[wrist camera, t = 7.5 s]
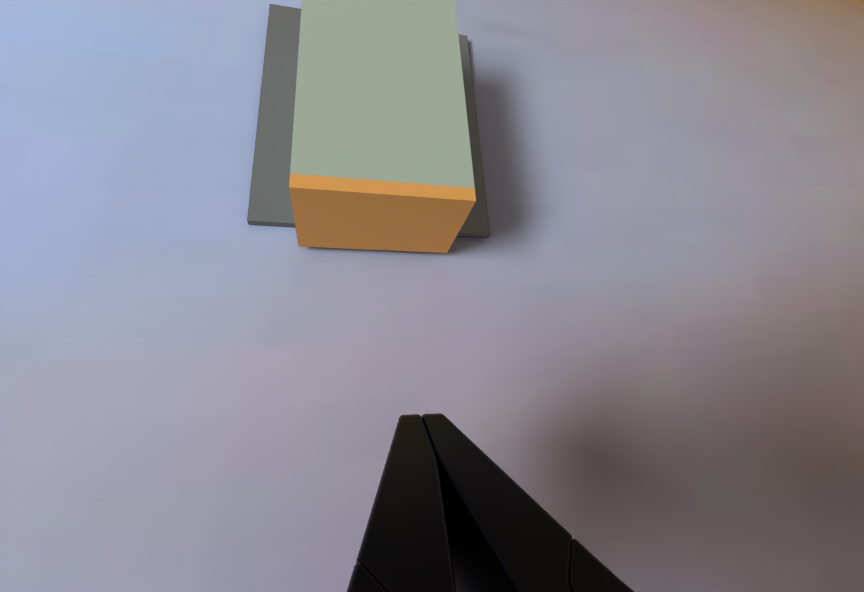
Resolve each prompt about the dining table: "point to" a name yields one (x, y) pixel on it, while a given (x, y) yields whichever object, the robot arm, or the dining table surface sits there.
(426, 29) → the block
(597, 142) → the dining table surface
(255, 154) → the mat
